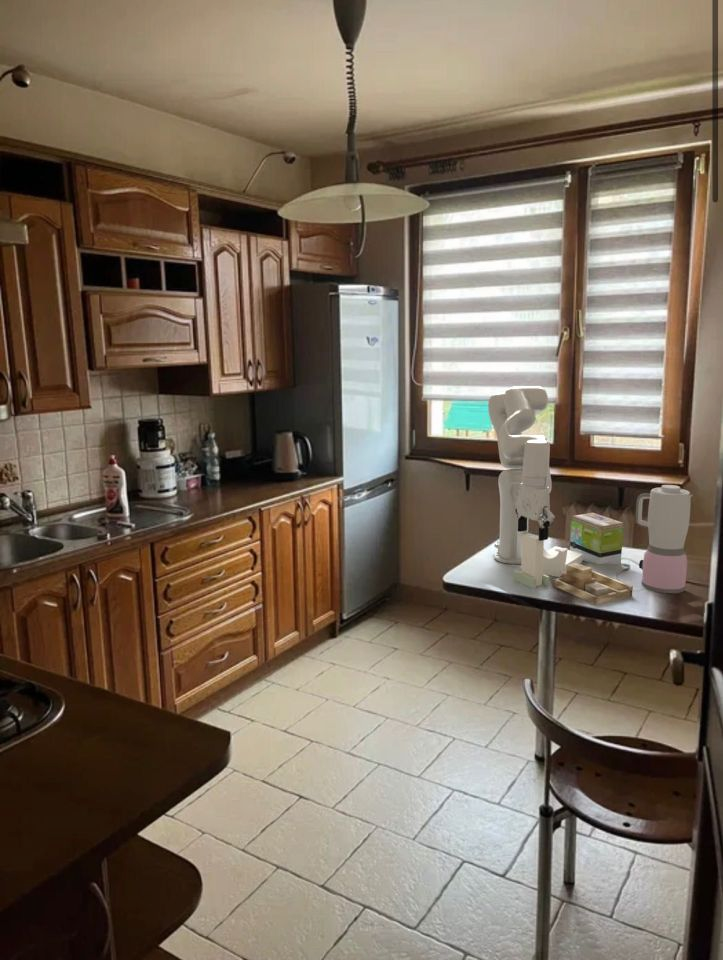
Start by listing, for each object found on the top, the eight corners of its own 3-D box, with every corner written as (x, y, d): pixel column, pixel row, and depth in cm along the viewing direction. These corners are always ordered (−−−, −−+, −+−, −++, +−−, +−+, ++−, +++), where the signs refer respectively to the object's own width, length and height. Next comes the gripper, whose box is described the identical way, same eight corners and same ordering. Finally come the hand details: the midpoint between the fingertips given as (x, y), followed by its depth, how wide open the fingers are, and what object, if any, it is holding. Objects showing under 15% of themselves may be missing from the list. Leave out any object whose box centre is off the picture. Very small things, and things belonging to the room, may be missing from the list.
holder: (510, 583, 222) (511, 571, 222) (530, 579, 226) (531, 567, 225) (531, 593, 214) (532, 580, 213) (552, 588, 217) (552, 576, 216)
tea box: (568, 555, 249) (570, 514, 246) (590, 552, 253) (592, 511, 250) (599, 568, 236) (601, 525, 233) (622, 564, 240) (624, 521, 237)
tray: (552, 588, 217) (552, 575, 216) (586, 581, 223) (587, 568, 222) (595, 608, 201) (596, 594, 200) (631, 600, 207) (632, 586, 207)
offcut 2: (561, 585, 217) (562, 572, 216) (573, 582, 219) (573, 570, 218) (583, 594, 209) (583, 581, 208) (594, 592, 211) (595, 579, 210)
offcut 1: (566, 574, 214) (566, 565, 214) (574, 572, 216) (575, 562, 216) (582, 580, 209) (583, 570, 209) (591, 577, 212) (591, 567, 211)
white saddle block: (558, 582, 224) (562, 551, 222) (529, 573, 230) (534, 543, 228) (580, 567, 238) (585, 538, 235) (553, 559, 244) (557, 530, 241)
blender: (690, 588, 216) (699, 485, 209) (678, 600, 207) (687, 493, 200) (638, 578, 226) (644, 479, 219) (624, 588, 217) (631, 486, 210)
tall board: (520, 580, 222) (522, 534, 219) (528, 579, 223) (529, 532, 220) (534, 586, 216) (536, 539, 213) (541, 585, 217) (543, 538, 214)
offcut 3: (584, 595, 208) (585, 584, 207) (596, 593, 209) (596, 582, 209) (596, 601, 203) (597, 590, 203) (607, 599, 205) (608, 588, 204)
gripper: (507, 476, 219) (504, 529, 223) (544, 489, 204) (541, 545, 208) (526, 473, 222) (523, 525, 226) (564, 485, 207) (561, 541, 211)
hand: (532, 535), depth 217 cm, fingers open, 9 cm apart
